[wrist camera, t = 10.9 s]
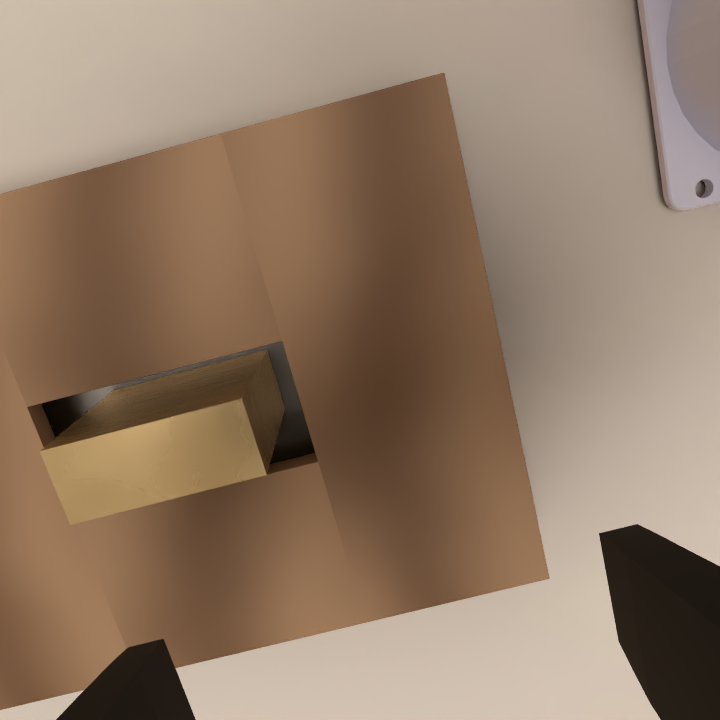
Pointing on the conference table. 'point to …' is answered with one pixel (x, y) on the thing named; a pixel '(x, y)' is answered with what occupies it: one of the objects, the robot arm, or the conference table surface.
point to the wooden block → (168, 438)
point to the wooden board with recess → (311, 377)
